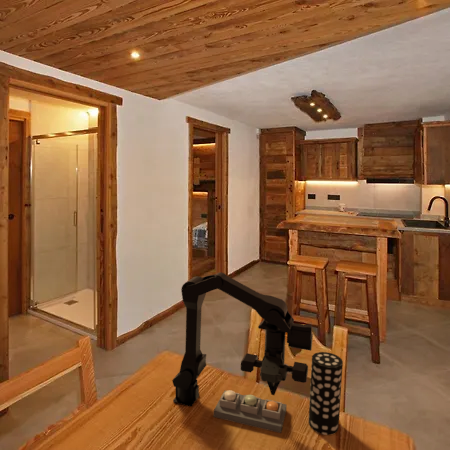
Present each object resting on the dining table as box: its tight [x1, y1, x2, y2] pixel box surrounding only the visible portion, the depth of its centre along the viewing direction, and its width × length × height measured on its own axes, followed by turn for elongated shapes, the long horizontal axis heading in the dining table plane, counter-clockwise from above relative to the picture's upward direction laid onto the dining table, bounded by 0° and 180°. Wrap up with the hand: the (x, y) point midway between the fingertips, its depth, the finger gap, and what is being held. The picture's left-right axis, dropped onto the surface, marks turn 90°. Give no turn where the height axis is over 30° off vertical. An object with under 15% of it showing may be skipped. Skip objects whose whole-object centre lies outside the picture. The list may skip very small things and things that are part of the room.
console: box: [213, 390, 287, 434], centre depth 103 cm, size 20×10×4 cm, turn 72°
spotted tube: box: [308, 351, 344, 436], centre depth 98 cm, size 8×8×20 cm
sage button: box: [245, 394, 257, 407], centre depth 103 cm, size 3×3×2 cm
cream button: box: [224, 389, 237, 402], centre depth 105 cm, size 3×3×2 cm
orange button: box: [266, 400, 278, 412], centre depth 101 cm, size 3×3×2 cm
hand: (273, 394), depth 100 cm, fingers closed
